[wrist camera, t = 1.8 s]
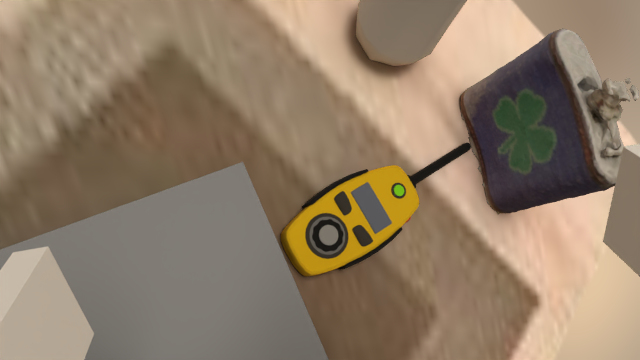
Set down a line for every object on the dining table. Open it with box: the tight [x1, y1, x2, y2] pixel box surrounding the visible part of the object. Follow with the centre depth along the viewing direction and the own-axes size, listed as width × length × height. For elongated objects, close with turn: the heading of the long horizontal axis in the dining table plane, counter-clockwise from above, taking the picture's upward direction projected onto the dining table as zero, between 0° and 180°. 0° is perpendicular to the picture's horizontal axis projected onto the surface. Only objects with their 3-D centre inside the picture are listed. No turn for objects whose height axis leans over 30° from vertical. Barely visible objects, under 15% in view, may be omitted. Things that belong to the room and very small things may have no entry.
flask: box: [460, 29, 639, 214], centre depth 29 cm, size 9×3×11 cm, turn 14°
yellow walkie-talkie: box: [281, 143, 471, 276], centre depth 30 cm, size 5×2×15 cm
